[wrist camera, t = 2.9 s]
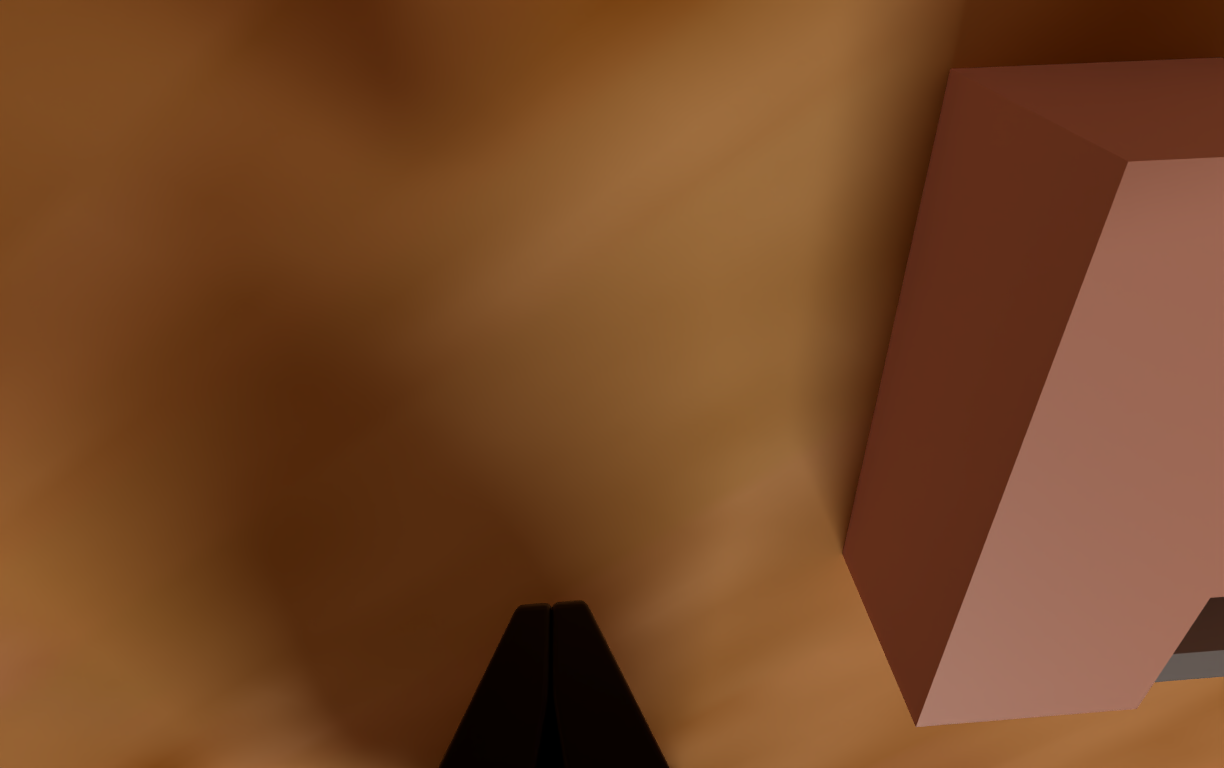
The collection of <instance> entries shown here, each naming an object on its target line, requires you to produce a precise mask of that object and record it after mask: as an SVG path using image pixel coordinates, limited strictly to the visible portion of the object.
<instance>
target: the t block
mask: <svg viewBox="0 0 1224 768" xmlns="http://www.w3.org/2000/svg"><path fill="white" fill-rule="evenodd" d="M842 555H843V557H844V559H845V562H846V564H847V566H848V569H849V571H850V573H851V576H852V578H853V580H854V583H855V585H856V587H857V590H858V592H859V594H860V597H861V599H862V601H863V604H864V606H865V609H866V611H867V613H868V616H869V618H870V620H871V623H872V625H873V627H874V630H875V632H876V634H877V637H878V639H879V641H880V644H881V646H882V648H883V651H884V653H885V656H886V658H887V660H888V663H889V665H890V667H891V670H892V672H893V674H894V677H895V679H896V681H897V684H898V686H899V688H900V691H901V693H902V695H903V698H904V700H905V703H906V705H907V707H908V710H909V712H910V714H911V717H912V719H913V721H914V724H915V726H916V727H921V726H934V725H946V724H958V723H970V722H982V721H994V720H1006V719H1018V718H1030V717H1042V716H1055V715H1067V714H1079V713H1091V712H1103V711H1115V710H1127V709H1137V708H1138V706H1139V705H1140V703H1141V702H1142V700H1143V699H1144V697H1145V696H1146V694H1147V693H1148V691H1149V690H1150V688H1151V687H1152V685H1153V683H1154V682H1155V680H1156V679H1157V677H1158V676H1159V674H1160V673H1161V671H1162V670H1163V668H1164V667H1165V665H1166V664H1167V662H1168V661H1169V659H1170V658H1171V656H1172V655H1173V653H1174V652H1175V650H1176V649H1177V647H1178V646H1179V644H1180V643H1181V641H1182V640H1183V638H1184V637H1185V635H1186V634H1187V632H1188V631H1189V629H1190V628H1191V626H1192V625H1193V623H1194V622H1195V620H1196V619H1197V617H1198V615H1199V614H1200V612H1201V611H1202V609H1203V608H1204V606H1205V605H1206V603H1207V602H1208V600H1209V599H1210V598H1214V597H1224V58H1222V57H1218V58H1194V59H1170V60H1146V61H1122V62H1098V63H1074V64H1050V65H1026V66H1002V67H978V68H954V69H950V72H949V77H948V81H947V86H946V90H945V95H944V99H943V104H942V108H941V113H940V117H939V122H938V126H937V131H936V135H935V140H934V144H933V149H932V153H931V158H930V162H929V167H928V171H927V176H926V180H925V185H924V189H923V194H922V198H921V203H920V207H919V212H918V216H917V221H916V225H915V230H914V234H913V239H912V243H911V248H910V252H909V257H908V261H907V266H906V270H905V275H904V279H903V284H902V288H901V293H900V297H899V302H898V306H897V311H896V315H895V320H894V324H893V329H892V333H891V338H890V342H889V347H888V351H887V356H886V360H885V365H884V369H883V374H882V378H881V383H880V387H879V392H878V396H877V401H876V405H875V410H874V414H873V419H872V423H871V428H870V432H869V437H868V441H867V446H866V450H865V455H864V459H863V464H862V468H861V473H860V477H859V482H858V486H857V491H856V495H855V500H854V504H853V509H852V513H851V518H850V522H849V527H848V531H847V536H846V540H845V545H844V549H843V554H842Z"/></svg>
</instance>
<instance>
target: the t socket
mask: <svg viewBox="0 0 1224 768" xmlns="http://www.w3.org/2000/svg"><path fill="white" fill-rule="evenodd" d="M1223 676H1224V597H1214V598H1210V599H1209V600H1208V602H1207V603H1206V605H1205V606H1204V608H1203V609H1202V611H1201V612H1200V614H1199V615H1198V617H1197V619H1196V620H1195V622H1194V623H1193V625H1192V626H1191V628H1190V629H1189V631H1188V632H1187V634H1186V635H1185V637H1184V638H1183V640H1182V641H1181V643H1180V644H1179V646H1178V647H1177V649H1176V650H1175V652H1174V653H1173V655H1172V656H1171V658H1170V659H1169V661H1168V662H1167V664H1166V665H1165V667H1164V668H1163V670H1162V671H1161V673H1160V674H1159V676H1158V677H1157V679H1156V680H1155V682H1162V681H1174V680H1186V679H1199V678H1211V677H1223Z"/></svg>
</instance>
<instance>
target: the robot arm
mask: <svg viewBox="0 0 1224 768" xmlns="http://www.w3.org/2000/svg"><path fill="white" fill-rule="evenodd" d="M439 768H669V766H668V764H667V762H666V760H665V758H664V756H663V754H662V752H661V750H660V748H659V746H658V744H657V742H656V740H655V738H654V736H653V734H652V732H651V730H650V728H649V726H648V724H647V722H646V720H645V718H644V716H643V714H642V712H641V710H640V708H639V706H638V704H637V702H636V700H635V698H634V696H633V694H632V692H631V690H630V688H629V686H628V684H627V682H626V680H625V678H624V676H623V674H622V672H621V670H620V668H619V666H618V664H617V662H616V660H615V658H614V656H613V654H612V652H611V650H610V648H609V646H608V644H607V642H606V640H605V638H604V636H603V634H602V632H601V630H600V628H599V626H598V624H597V622H596V620H595V618H594V616H593V614H592V612H591V610H590V608H589V607H588V605H587V604H586V603H585V602H584V601H566V602H557V603H555V604H554V605H553V607H552V608H551V606H550V605H549V604H547V603H539V604H525V605H520V606H519V607H518V608H517V609H516V610H515V612H514V613H513V615H512V617H511V620H510V622H509V624H508V626H507V628H506V630H505V632H504V634H503V636H502V638H501V640H500V642H499V644H498V646H497V648H496V650H495V653H494V655H493V657H492V659H491V661H490V663H489V665H488V667H487V669H486V671H485V673H484V675H483V677H482V679H481V681H480V683H479V685H478V688H477V690H476V692H475V694H474V696H473V698H472V700H471V702H470V704H469V706H468V708H467V710H466V712H465V714H464V716H463V718H462V720H461V723H460V725H459V727H458V729H457V731H456V733H455V735H454V737H453V739H452V741H451V743H450V745H449V747H448V749H447V751H446V753H445V756H444V758H443V760H442V762H441V764H440V766H439Z"/></svg>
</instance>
